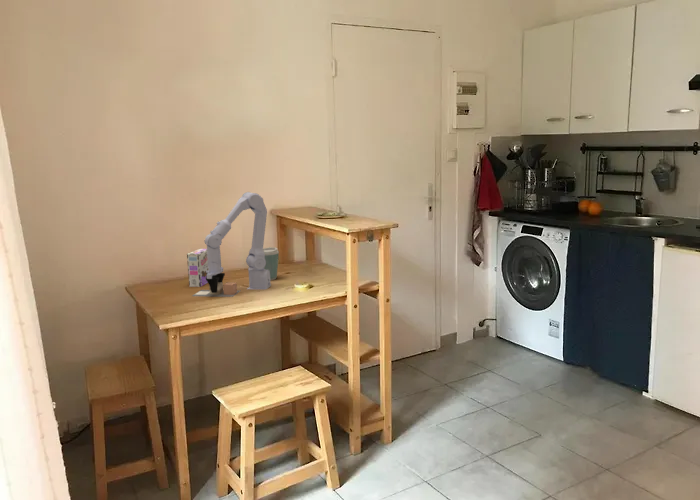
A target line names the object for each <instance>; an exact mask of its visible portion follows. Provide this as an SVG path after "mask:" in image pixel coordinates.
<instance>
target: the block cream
mask: <svg viewBox="0 0 700 500" xmlns="http://www.w3.org/2000/svg"><path fill="white" fill-rule="evenodd" d="M223 285H224V283H223V281H222V282H218V284H217V292H216V293H212V292H211V289H210V286H209V285H208V286H209V289H208V290H210V294H214V295H220V294H221V293H223V290H224V289H223Z"/></svg>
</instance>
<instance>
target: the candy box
mask: <svg viewBox="0 0 700 500" xmlns="http://www.w3.org/2000/svg"><path fill="white" fill-rule="evenodd" d="M186 260H187V273H188V287H189V288H191V287H192V288H196V287H197V288H201V287H203V286H204V285H206V284H209V283H208V282H207V280H206V277H207V274H208V273H206V271H207V270H208V258H207V248H198V249H196V250H193V251H191V252H189V253H186Z"/></svg>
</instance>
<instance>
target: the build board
mask: <svg viewBox="0 0 700 500" xmlns="http://www.w3.org/2000/svg"><path fill="white" fill-rule="evenodd" d="M240 292H241V290H238V289H237V293H235V294H234V295H224V289H223V293H221V294H220V295H214V294H210V289H200V290H198V291H197V292H196V293H194V294H192V295H191V297H209V298H210V297H217V298H219V297H221V298H225V297H227V298H233V297H234V296H236V295H238V294H239V293H240Z"/></svg>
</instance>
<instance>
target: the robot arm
mask: <svg viewBox="0 0 700 500" xmlns="http://www.w3.org/2000/svg"><path fill="white" fill-rule="evenodd" d="M246 210H251V211H252V212H253V213H254V221H253V222H254V223H253V229H252V231H253V232H252V239H251V247H250V249H249V251H248V255H247V256H246V259H245V263H246V265H247V266H248V270H247V271H248V283H249V285H248V287H247V288H246V290H267V289H269V288H271V286H272V283H271V280H270V271H269V270H266V269H264V267H265V265H266V261H265V254H264V251H263V249H264V243H265V234H266V227H267V225H266V224H267V218H268V209H267V207H266V205H265V202H264V197H262V196H261V195H260V194H258V193H256V192H250V191H247V192H244V193H243V194H242V196H241V197H240V198H238V200H237V201H236V203H235V204H234V206H233V207H232V209H231V210H230V212H229V213H228V215H227V216H226V217H225V219H221V220H220V221H218V220H217V222H216V226H215V227H214V228H213V230H210V232H209V234H207V235H206V236H205V238H204V241H203V242H204V244H205V245H206V249H207V258H208V270H207V271H206V273H208V274H207V277H206V280H207V282H208V283H207V284H208V286H210V289H211V292H212V293H216V292H217V284H218V282H223V281H224V278H225V272H224V267H223V266H222V257H221V256H222V255H221V245H222V243H223V242H222V241H223V239H224V238H225V237H226V236H227V234H228V233H229V232H230V231H231V229H232V224H233V222H234V221H235V220H236V219H237V218H238V217H239V215H241V214H242V212H243V211H246ZM210 289H209V290H210Z"/></svg>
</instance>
